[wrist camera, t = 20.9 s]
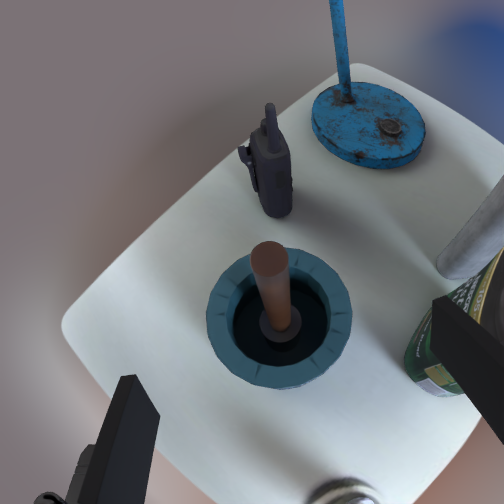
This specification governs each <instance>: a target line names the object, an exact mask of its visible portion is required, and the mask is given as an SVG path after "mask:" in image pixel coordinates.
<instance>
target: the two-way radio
mask: <svg viewBox="0 0 504 504" xmlns="http://www.w3.org/2000/svg"><path fill="white" fill-rule="evenodd" d="M265 113H266V118H265V119H263V120H262V121H261V127H260V128H258V129H256V130H255V131H254V132H252V133H251V135H250V143H249V146H248V147H245V146H240V147H238V153H239V157H240V159H241V161H242V162H243V163H244V164H245V165H246V166H247V167H248V169H249V173H250V177H251V181H252V185H253V188H254V191H255V192H258V196H259V199H260V202H261V205H262V207H263V210H264V212H265V213H266V214H267V215H268V216H270V217H275V218H281V217H284V216H286V215H288V214H289V213H290V212H291V210H292V191H293V187H292V181H293V180H292V177H291V158H290V151H289V148H288V145H287V143H286V141H285V138H284V136H283V134H282V133H281V131H280V130H279V128H278V123H277V117H276V111H275V106H274V105H273V103H267V104H266V106H265ZM250 154H251V155H250ZM253 168H254V169H253ZM253 170H254V172H253ZM254 175H255V177H254Z"/></svg>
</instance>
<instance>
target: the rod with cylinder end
mask: <svg viewBox="0 0 504 504" xmlns="http://www.w3.org/2000/svg"><path fill="white" fill-rule="evenodd" d="M250 265H251V268H252V271H253V274H254V277H255V280H256V283H257V286H258V289H259V292H260V295H261V298H262V301H263V304H264V307H265V309H264V310H263V312H262V314H261V316H260V320H259V325H260V329H261V331H262V333H263V335H264V337H265V339H266V341H267V343H268V345H269V346H270V347H271V348H272V349H273V350H275V351H278V352H288V351H290V350H292V349H294V348H295V347H296V346H297V344H298V342H299V340H300V334H301V325H302V319H301V315H300V313H299V311H298V310H297V308H296V307H294V306H293V305H292V304H291V303H290V279H289V258H288V253H287V251H286V249H285V248H284V247H283V246H282V245H281V244H279V243H277V242H273V241H266V242H262V243H260V244H258V245H257V246H256V247H255V248H254V249H253V250H252V252H251V254H250Z"/></svg>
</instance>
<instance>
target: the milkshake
mask: <svg viewBox="0 0 504 504" xmlns="http://www.w3.org/2000/svg"><path fill="white" fill-rule="evenodd" d="M347 504H375V503H374V502H372V501H371V500H370V499H369V498H365V497H357V498H355V499H353V500H350V501H348V502H347Z"/></svg>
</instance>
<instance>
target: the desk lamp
mask: <svg viewBox="0 0 504 504" xmlns="http://www.w3.org/2000/svg"><path fill="white" fill-rule="evenodd" d="M329 4H330V11H331V19H332V27H333V36H334V43H335V51H336V60H337V68H338V77H339V84H337V85H334V86H332V87H329V88H327V89H326V90H324V91H323V92H321V93H320V94H319V96H318V97H317V98H316V100H315V101H314V104H313V108H312V117H311V121H312V127H313V131H314V133H315V134H316V136H317V138H318V140H319V141H320V142H321V143H322V144H323V145H324V146H325V147H326V148H327V149H328V150H329V151H330V152H332V153H334V154H335V155H337V156H338V157H340V158H341V159H343V160H346V161H348V162H351V163H353V164H356V165H359V166H364V167H369V168H373V169H390V168H394V167H399V166H403V165H405V164H407V163H408V162H410V161H412V160H413V159H414V158H415V157H416V156H417V155H418V154H419V152H420V150H421V147H422V144H423V141H424V138H425V134H426V132H425V123H424V121H423V119H422V117H421V115H420V113H419V112H418V110H417V109H416V108H415V107H414V105H413V104H411V103H410V102H409V101H408V100H407V99H405V98H404V97H403V96H401V95H400V94H398V93H396V92H394V91H392V90H390V89H388V88H385V87H382V86H380V85H375V84H371V83H365V82H351V79H350V68H349V57H348V47H347V37H346V27H345V17H344V7H343V0H329Z"/></svg>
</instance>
